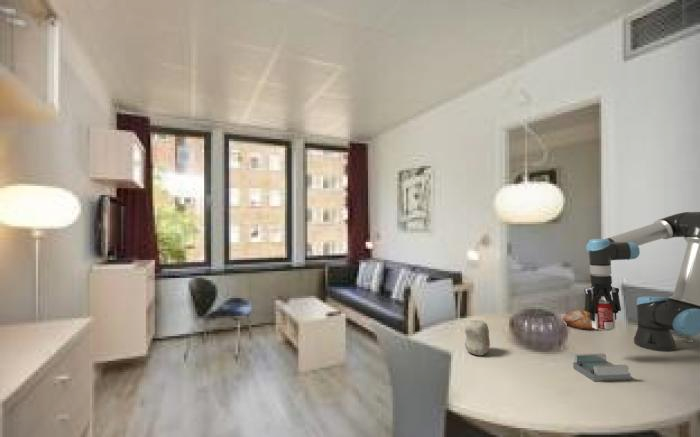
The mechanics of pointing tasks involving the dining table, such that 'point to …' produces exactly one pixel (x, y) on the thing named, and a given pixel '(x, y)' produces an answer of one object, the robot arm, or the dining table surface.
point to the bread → (579, 320)
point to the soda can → (604, 315)
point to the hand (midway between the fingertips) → (603, 327)
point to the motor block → (600, 368)
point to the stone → (477, 337)
